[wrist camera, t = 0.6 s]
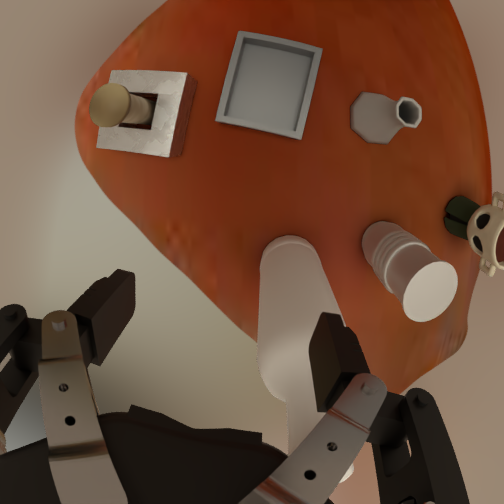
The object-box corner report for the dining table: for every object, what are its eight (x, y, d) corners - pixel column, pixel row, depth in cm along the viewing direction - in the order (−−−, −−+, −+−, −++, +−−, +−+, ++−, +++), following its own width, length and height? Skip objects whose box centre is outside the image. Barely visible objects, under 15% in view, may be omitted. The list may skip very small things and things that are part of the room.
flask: (356, 83, 30) (387, 65, 20) (403, 106, 30) (443, 99, 21) (341, 131, 32) (368, 128, 23) (389, 153, 33) (427, 159, 24)
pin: (142, 96, 31) (94, 83, 20) (172, 99, 32) (132, 83, 20) (135, 127, 33) (85, 126, 22) (165, 131, 33) (122, 128, 22)
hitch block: (129, 77, 30) (111, 70, 26) (197, 81, 31) (187, 72, 26) (115, 145, 34) (96, 147, 29) (181, 155, 34) (168, 157, 30)
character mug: (445, 177, 33) (503, 196, 21) (476, 183, 33) (532, 203, 21) (434, 247, 37) (482, 285, 25) (465, 248, 37) (513, 283, 25)
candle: (348, 240, 38) (389, 295, 24) (385, 207, 36) (443, 246, 22) (375, 272, 39) (418, 333, 25) (409, 242, 37) (465, 290, 23)
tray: (240, 38, 28) (238, 30, 25) (318, 55, 29) (322, 48, 26) (219, 122, 33) (215, 120, 30) (298, 140, 33) (301, 139, 30)
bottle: (326, 272, 39) (398, 475, 12) (276, 295, 41) (284, 505, 13) (303, 223, 37) (381, 428, 9) (250, 249, 39) (220, 469, 11)
